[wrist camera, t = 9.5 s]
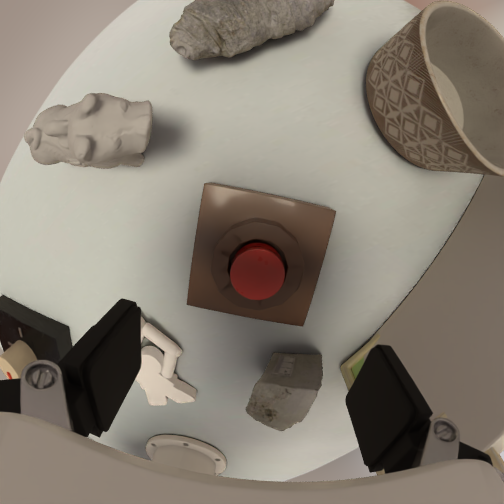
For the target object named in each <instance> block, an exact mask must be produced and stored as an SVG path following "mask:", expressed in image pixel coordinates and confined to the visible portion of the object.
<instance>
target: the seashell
mask: <svg viewBox="0 0 504 504" xmlns="http://www.w3.org/2000/svg"><path fill="white" fill-rule="evenodd" d="M333 4H334V0H195V1H194V2H192V3H191V4H189V5H188V6H185V8H184V11H183V15H181V19H180V20H179V21H178V22H177V23H175V24H174V25H173V27H172V29H171V31H170V34H169V37H170V45H171V47H172V48H173V49H174V50H175V51H176V52H177V53H179V54H180V55H182V56H183V57H184V58H188V59H191V60H198V59H200V58H212V57H217V56H225V57H228V58H231V57H233V56H234V55H236V54H240V53H242V52H247V51H249V50H251V48H252V47H255V46H260V45H261V44H263V43H264V42H265V41H266V40H267V39H269V38H272V39H278V38H282V37H283V36H284V35H289V34H292V33H294V32H295V30H298V31H302V30H304V29H305V28H307V27H311V26H312V25H313V24H314V22H315V19H316V18H317V17H319V16H321V15H322V14H323V12H325V11H326V10H328V8H329V7H331V6H333Z"/></svg>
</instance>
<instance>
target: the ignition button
mask: <svg viewBox="0 0 504 504" xmlns="http://www.w3.org/2000/svg"><path fill="white" fill-rule="evenodd" d="M230 279H231V282H232V285H233V287H234V288H235V290H236V291H237V292H238V293H239V294H241V295H242V296H244V297H246V298H248V299H252V300H263V299H267V298H269V297H271V296H273V295H274V294H276V293H277V292H278V291H279V290H280V288H281V287H282V285H283V282H284V279H285V270H284V266H283V262H282V259H281V256H280V255H279V253H278V252H277V251H276V250H275V249H274V248H273V247H271V246H270V245H267V244H264V243H251V244H248V245H246V246H244V247H242V248H241V249H240V250H239V251H238V252H237V253H236V255H235V257H234V259H233V263H232V266H231V270H230Z"/></svg>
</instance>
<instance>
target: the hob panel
mask: <svg viewBox="0 0 504 504" xmlns="http://www.w3.org/2000/svg"><path fill="white" fill-rule="evenodd" d="M17 340H21V341H23V342H25V343H26V344H27V345H28V346H29V347H30V348H31V349H32V351H33V352H34V354H35V356H36V358H37V360H48V361H51V362H53V363H55V364H56V365H57V364H58V363H59V362H60V361H61V360H62V358H63V357H64V356H65V355H66V354H67V353H68V352H69V351H70V350H71V348H72V343H71V338H70V332H69V327H68V326H66V325H64V324H61V323H59V322H57V321H54V320H52V319H50V318H48V317H45V316H43V315H41V314H39V313H37V312H35V311H33V310H31V309H29V308H27V307H25V306H23V305H21V304H19V303H17V302H15V301H13V300H11V299H9V298H7V297H5V296H4V295H2V296H0V341H1V345H2V348H3V351H4V352H5V351H6V350H7V349H8V348H9V347H11V346H12V345H13V344H14V343H15V342H16V341H17Z"/></svg>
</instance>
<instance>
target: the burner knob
mask: <svg viewBox="0 0 504 504" xmlns="http://www.w3.org/2000/svg"><path fill="white" fill-rule="evenodd" d="M36 360H37V358H36V356H35V354H34V352H33V351H32V349H31V348H30V347H29V346H28V345H27V344H26V343H25V342H23V341H21V340H17V341H16V342H15V343H14V344H13V345H12V346H11V347H9V348H8V349H7V350H6V351H5V352H4V353H3V354H2V355H1V356H0V367H1V370H2V371H3V373H4V374H5V376H6V377H7V378H8V379H17V378H21V373H22V370H23V369H24V367H25V366H26V365H28V364H29V363H31V362H33V361H36Z"/></svg>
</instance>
